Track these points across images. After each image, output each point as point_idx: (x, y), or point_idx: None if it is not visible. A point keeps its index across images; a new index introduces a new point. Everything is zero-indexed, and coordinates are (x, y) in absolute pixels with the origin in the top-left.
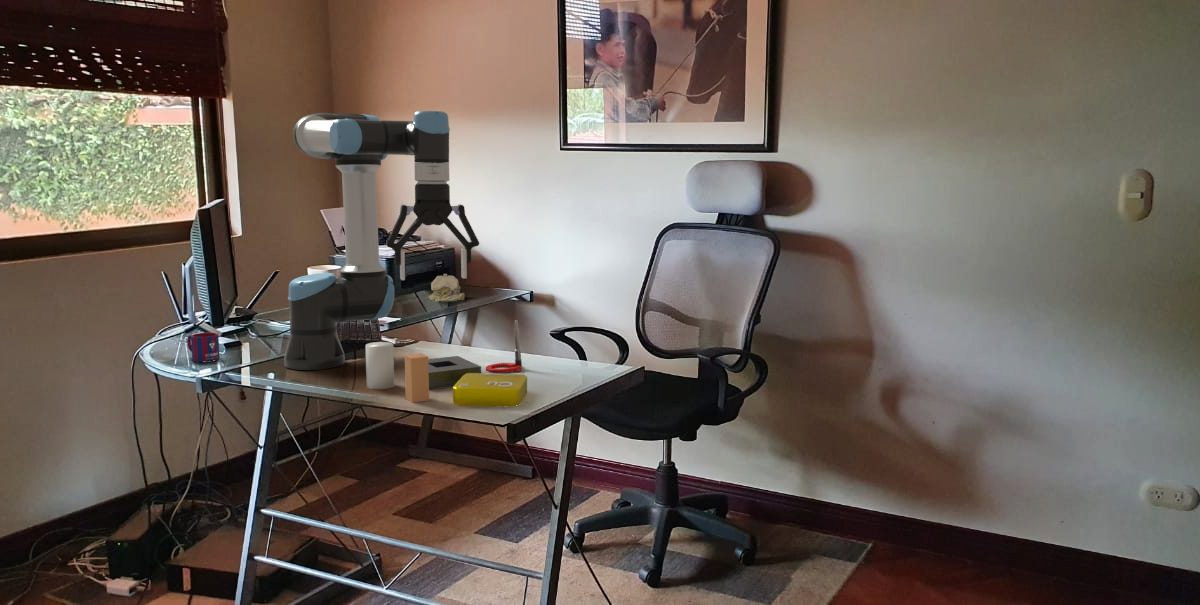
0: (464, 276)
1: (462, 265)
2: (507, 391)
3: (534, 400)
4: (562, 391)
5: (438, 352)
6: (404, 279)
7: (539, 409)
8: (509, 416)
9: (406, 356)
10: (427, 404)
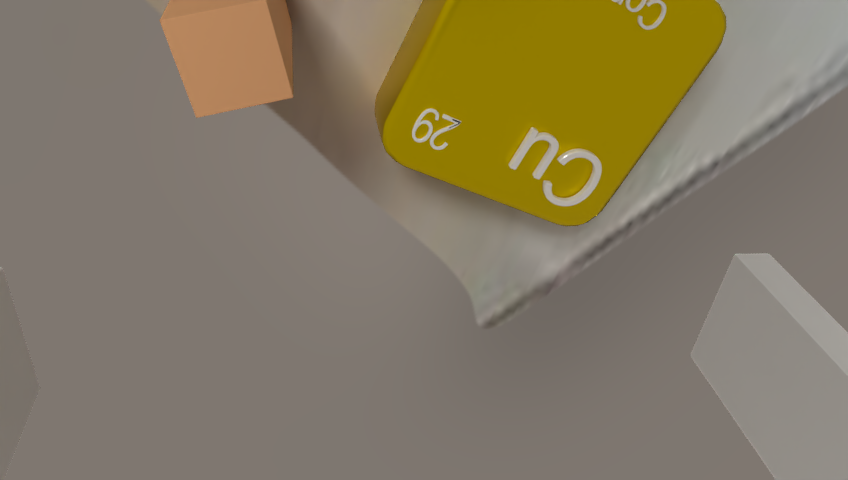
0: (710, 371)
1: (786, 428)
2: (552, 222)
3: None
4: (797, 57)
5: None
6: (30, 396)
7: (608, 241)
8: (499, 284)
9: (171, 49)
10: None
